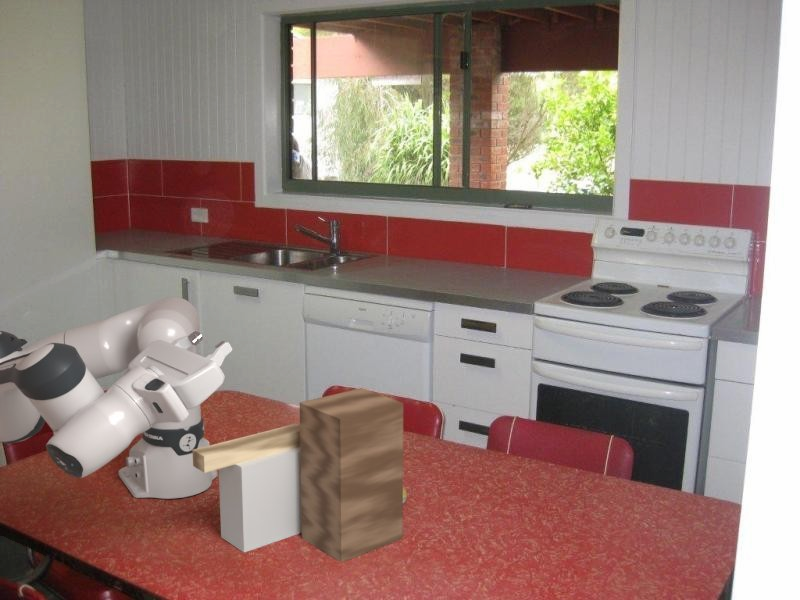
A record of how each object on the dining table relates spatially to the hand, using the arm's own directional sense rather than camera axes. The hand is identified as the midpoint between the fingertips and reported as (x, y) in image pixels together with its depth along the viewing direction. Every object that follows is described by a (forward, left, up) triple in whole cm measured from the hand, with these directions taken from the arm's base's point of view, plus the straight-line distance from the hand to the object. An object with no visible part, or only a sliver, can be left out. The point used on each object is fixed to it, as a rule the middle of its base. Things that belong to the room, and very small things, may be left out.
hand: (213, 339), depth 150 cm
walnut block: (+5, +24, -40) cm, 47 cm away
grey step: (-7, +14, -40) cm, 43 cm away
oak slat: (-7, +11, -24) cm, 28 cm away
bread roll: (-5, +40, -41) cm, 58 cm away
